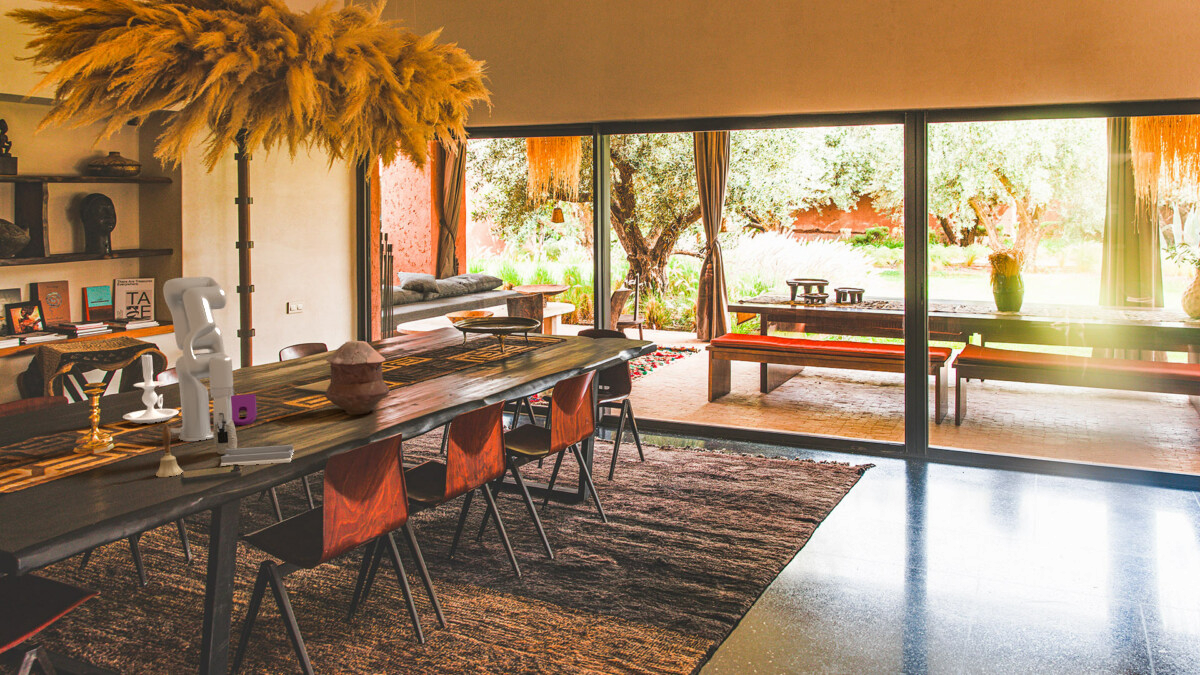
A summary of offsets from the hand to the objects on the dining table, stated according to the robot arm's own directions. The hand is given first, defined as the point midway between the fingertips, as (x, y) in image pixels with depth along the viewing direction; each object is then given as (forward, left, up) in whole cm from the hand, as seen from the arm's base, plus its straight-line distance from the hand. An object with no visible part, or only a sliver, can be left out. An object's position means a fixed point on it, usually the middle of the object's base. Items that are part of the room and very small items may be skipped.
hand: (225, 439), depth 327 cm
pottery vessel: (+44, +57, -5) cm, 72 cm away
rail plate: (+12, -12, -5) cm, 18 cm away
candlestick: (-37, +64, -5) cm, 74 cm away
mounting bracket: (-1, +53, -5) cm, 53 cm away
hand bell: (-14, -23, -5) cm, 27 cm away
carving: (0, 0, -5) cm, 5 cm away
